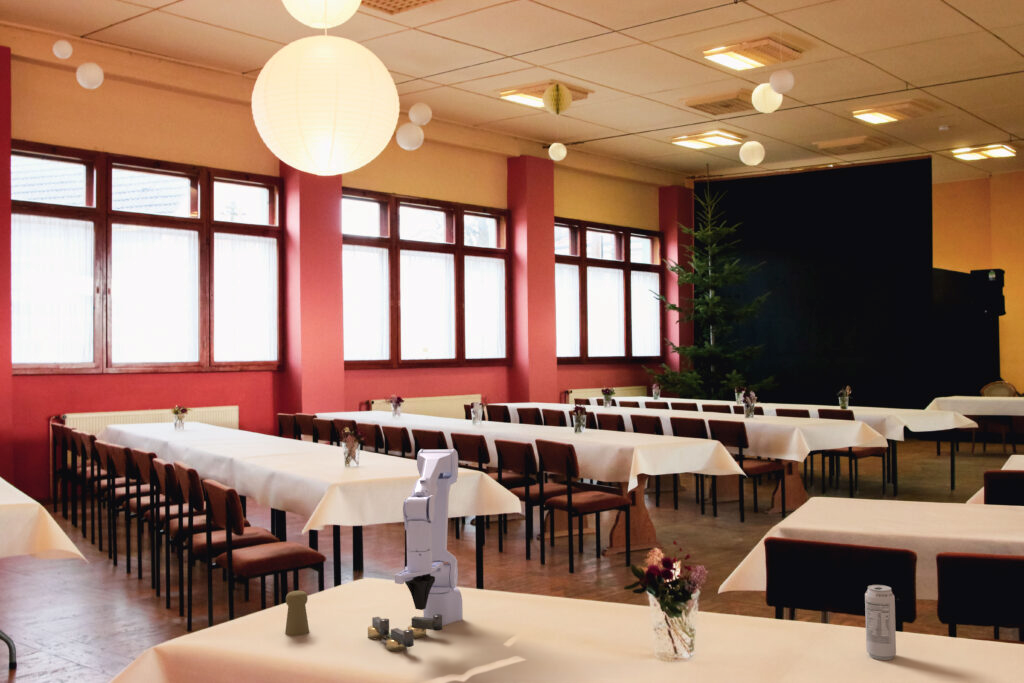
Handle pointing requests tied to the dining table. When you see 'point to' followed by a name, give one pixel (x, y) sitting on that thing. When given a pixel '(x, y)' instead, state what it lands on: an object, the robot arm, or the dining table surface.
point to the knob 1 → (378, 628)
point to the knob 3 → (425, 625)
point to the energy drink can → (880, 622)
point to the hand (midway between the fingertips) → (420, 608)
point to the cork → (296, 614)
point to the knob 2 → (400, 640)
